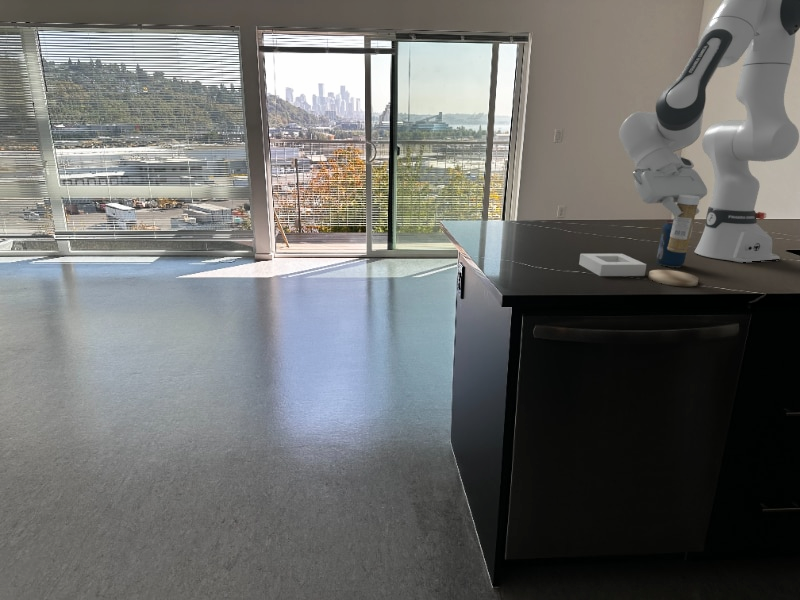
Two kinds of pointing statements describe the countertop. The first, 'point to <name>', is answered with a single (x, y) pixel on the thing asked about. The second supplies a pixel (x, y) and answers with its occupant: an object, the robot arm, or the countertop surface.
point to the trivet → (673, 278)
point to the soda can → (664, 254)
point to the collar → (612, 265)
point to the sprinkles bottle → (683, 224)
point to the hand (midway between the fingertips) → (687, 214)
